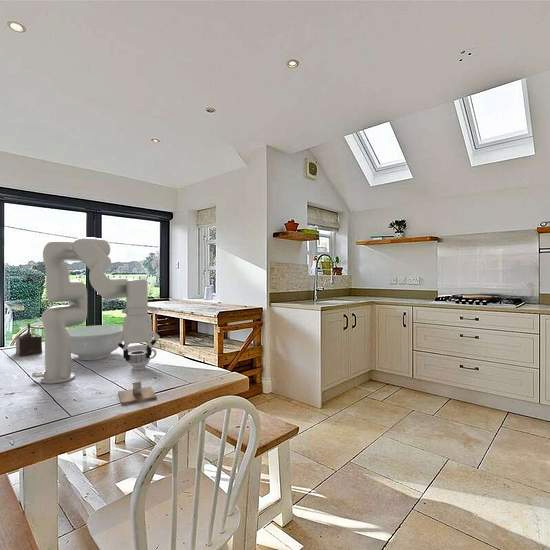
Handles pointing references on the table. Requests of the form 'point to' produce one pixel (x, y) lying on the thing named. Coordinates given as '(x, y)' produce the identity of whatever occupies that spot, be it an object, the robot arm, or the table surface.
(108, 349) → the bowl
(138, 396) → the brown base with peg
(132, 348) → the teacup
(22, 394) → the table surface
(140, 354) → the ring
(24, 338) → the dark boxy spouted shape
